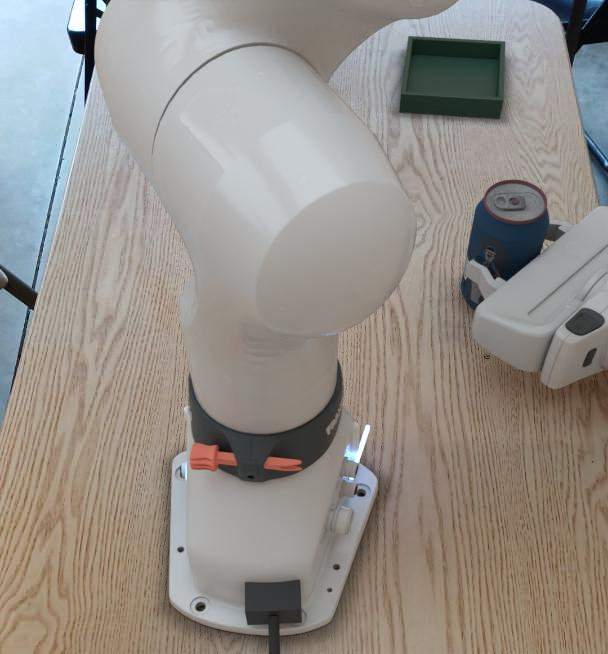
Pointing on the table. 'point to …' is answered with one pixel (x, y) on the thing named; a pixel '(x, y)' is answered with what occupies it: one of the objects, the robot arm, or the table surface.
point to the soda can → (506, 232)
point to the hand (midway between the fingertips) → (496, 243)
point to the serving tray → (453, 77)
